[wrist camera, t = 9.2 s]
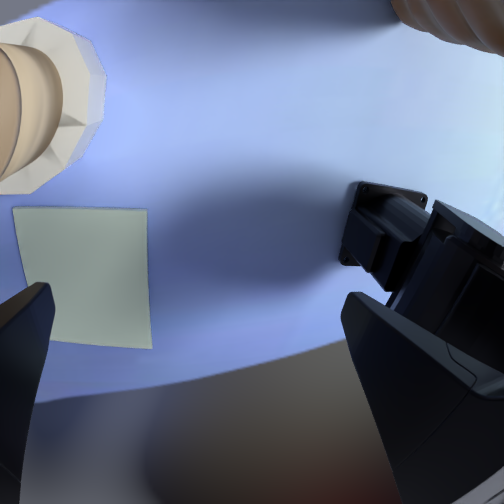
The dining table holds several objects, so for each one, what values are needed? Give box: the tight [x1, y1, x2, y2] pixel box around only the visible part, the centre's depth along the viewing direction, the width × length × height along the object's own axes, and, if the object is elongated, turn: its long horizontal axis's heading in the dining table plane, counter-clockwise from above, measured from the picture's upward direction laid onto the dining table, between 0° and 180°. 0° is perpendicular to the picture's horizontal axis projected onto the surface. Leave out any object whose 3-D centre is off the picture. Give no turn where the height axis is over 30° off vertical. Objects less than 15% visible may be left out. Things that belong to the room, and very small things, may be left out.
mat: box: [12, 206, 152, 349], centre depth 21 cm, size 10×12×1 cm
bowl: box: [0, 17, 107, 195], centre depth 13 cm, size 10×10×3 cm
